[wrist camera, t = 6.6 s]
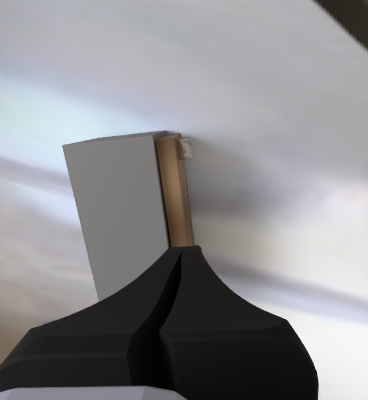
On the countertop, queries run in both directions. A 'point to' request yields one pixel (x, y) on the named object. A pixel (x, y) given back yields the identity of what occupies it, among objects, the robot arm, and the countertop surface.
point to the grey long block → (119, 206)
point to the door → (176, 187)
